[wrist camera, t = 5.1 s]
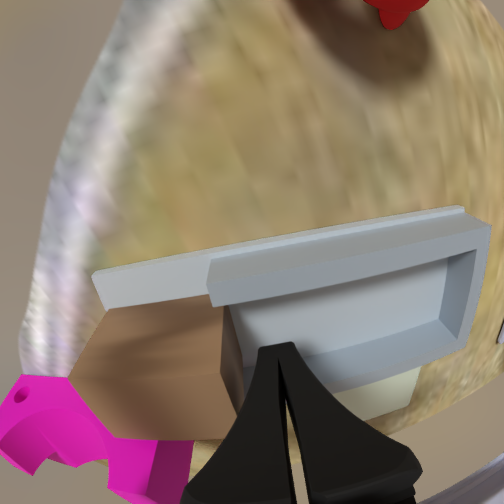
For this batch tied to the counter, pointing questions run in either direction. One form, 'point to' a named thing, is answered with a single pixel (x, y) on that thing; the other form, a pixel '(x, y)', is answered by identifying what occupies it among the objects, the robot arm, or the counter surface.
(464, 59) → the counter surface
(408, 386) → the sage coaster
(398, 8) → the red rounded piece
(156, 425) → the walnut block
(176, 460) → the magenta cradle bracket
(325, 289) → the trough deck
